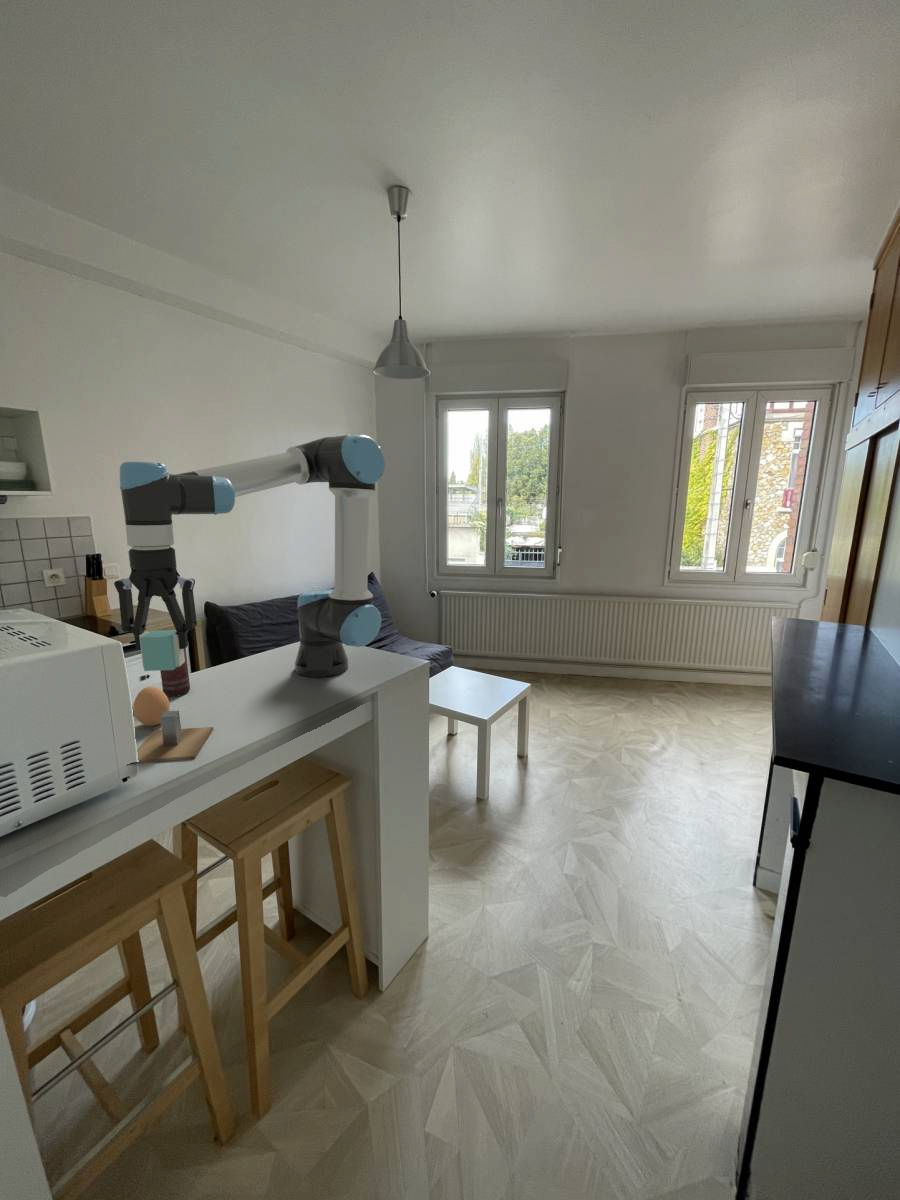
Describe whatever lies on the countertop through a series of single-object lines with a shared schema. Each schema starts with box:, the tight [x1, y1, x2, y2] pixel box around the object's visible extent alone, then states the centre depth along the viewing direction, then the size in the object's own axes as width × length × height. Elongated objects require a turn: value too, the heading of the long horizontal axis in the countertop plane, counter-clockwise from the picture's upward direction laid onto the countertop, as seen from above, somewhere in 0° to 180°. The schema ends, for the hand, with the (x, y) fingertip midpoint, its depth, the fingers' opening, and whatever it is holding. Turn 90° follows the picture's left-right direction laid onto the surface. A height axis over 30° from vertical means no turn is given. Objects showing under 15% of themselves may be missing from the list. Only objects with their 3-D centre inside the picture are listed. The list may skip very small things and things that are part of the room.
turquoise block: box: [141, 629, 177, 672], centre depth 96 cm, size 5×5×7 cm
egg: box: [133, 685, 170, 727], centre depth 108 cm, size 7×7×9 cm
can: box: [159, 647, 191, 698], centre depth 124 cm, size 6×6×14 cm
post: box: [160, 710, 182, 746], centre depth 100 cm, size 3×3×6 cm
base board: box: [136, 726, 215, 764], centre depth 100 cm, size 12×12×1 cm
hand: (164, 664), depth 97 cm, fingers closed on turquoise block, 5 cm apart
